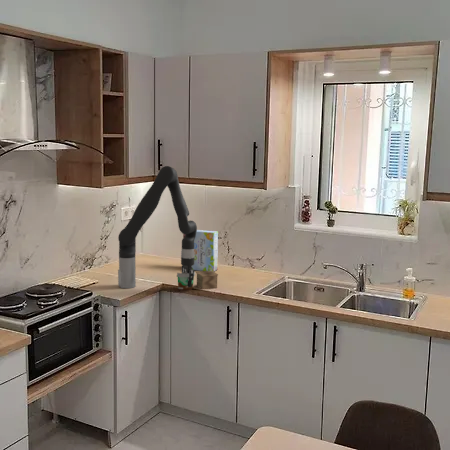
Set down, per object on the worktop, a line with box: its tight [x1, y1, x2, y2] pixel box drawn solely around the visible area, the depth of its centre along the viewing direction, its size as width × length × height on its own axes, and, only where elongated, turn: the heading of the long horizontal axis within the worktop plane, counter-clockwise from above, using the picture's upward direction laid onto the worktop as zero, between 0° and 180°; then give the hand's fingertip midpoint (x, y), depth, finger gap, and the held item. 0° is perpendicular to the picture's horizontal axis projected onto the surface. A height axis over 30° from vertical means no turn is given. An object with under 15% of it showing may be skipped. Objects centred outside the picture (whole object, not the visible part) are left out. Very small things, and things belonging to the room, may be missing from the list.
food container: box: [176, 271, 196, 292], centre depth 319 cm, size 12×6×10 cm, turn 140°
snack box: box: [182, 229, 219, 272], centre depth 367 cm, size 22×9×26 cm, turn 70°
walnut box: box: [195, 271, 219, 290], centre depth 325 cm, size 10×10×8 cm
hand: (187, 285), depth 320 cm, fingers closed on food container, 6 cm apart
